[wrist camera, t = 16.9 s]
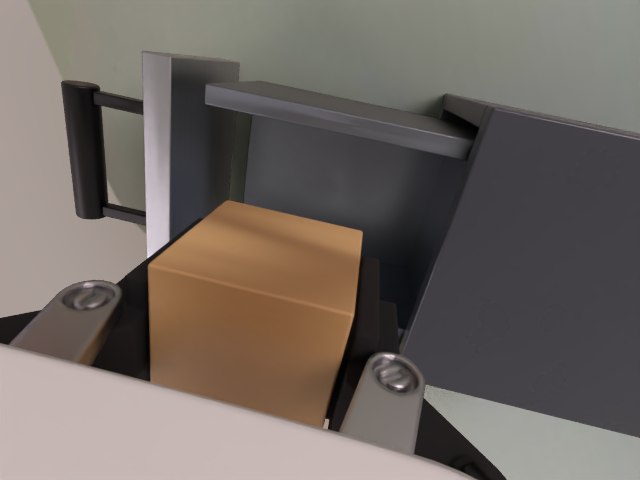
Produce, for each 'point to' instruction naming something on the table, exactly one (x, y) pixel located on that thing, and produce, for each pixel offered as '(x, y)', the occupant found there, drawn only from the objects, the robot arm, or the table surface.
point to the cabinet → (537, 270)
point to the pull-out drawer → (277, 161)
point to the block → (255, 310)
